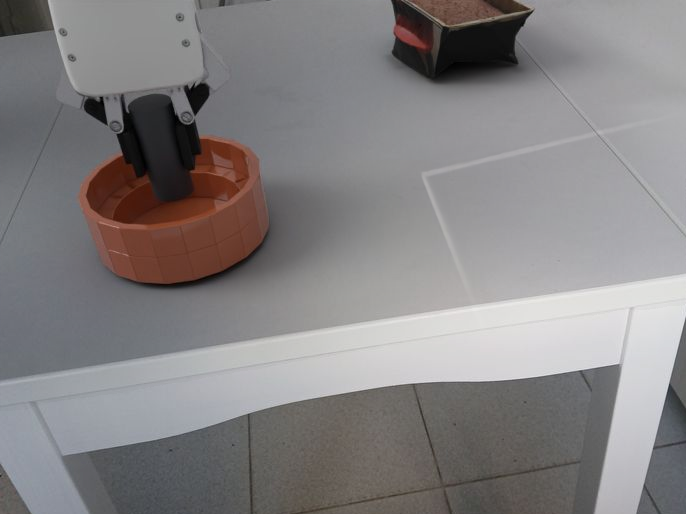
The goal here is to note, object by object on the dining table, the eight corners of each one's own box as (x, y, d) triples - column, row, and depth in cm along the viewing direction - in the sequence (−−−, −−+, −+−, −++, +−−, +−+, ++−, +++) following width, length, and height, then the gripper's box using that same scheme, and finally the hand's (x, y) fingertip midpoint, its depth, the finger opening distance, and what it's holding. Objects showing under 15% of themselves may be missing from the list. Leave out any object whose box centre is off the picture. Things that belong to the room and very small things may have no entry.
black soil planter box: (480, 42, 98) (473, -40, 93) (547, 68, 84) (544, -26, 78) (382, 71, 97) (368, -10, 91) (432, 103, 82) (420, 10, 76)
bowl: (89, 300, 60) (64, 240, 56) (111, 203, 71) (92, 147, 67) (273, 275, 61) (262, 214, 57) (266, 182, 72) (256, 125, 68)
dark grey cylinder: (152, 204, 62) (125, 115, 56) (155, 184, 64) (129, 96, 59) (193, 199, 62) (170, 109, 56) (195, 178, 64) (172, 91, 59)
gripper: (221, -107, 52) (263, 133, 64) (-12, -78, 51) (75, 158, 64) (220, -82, 46) (266, 175, 59) (-41, -50, 46) (61, 202, 58)
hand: (166, 164), depth 61 cm, fingers closed on dark grey cylinder, 3 cm apart
